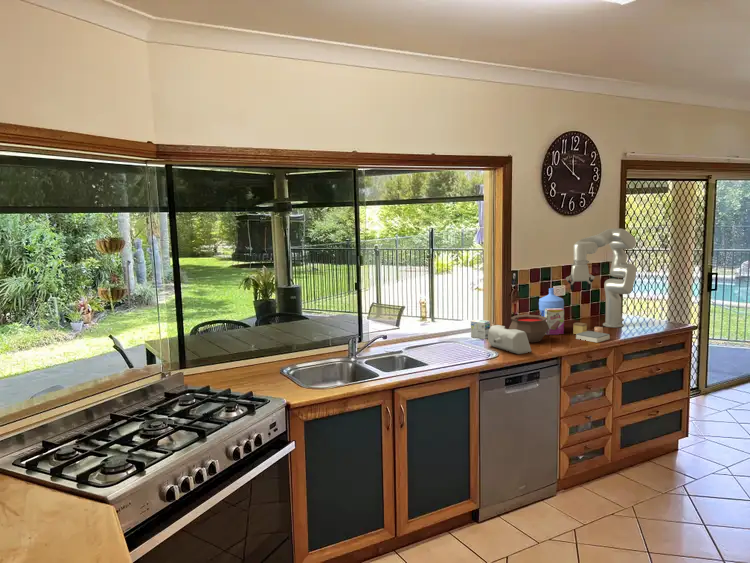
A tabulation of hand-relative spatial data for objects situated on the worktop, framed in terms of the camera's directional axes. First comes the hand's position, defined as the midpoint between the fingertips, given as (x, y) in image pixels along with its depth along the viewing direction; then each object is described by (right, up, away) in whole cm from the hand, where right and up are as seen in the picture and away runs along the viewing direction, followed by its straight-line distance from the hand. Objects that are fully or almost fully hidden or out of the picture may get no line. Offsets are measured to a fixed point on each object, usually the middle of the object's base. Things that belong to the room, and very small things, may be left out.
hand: (580, 290), depth 330 cm
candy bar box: (-14, -28, +7) cm, 32 cm away
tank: (-53, -34, -26) cm, 68 cm away
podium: (+4, -29, -9) cm, 31 cm away
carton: (+1, -28, +3) cm, 28 cm away
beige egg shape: (+11, -28, -1) cm, 30 cm away
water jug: (-12, -27, +17) cm, 34 cm away
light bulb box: (-61, -30, +7) cm, 68 cm away
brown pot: (-33, -31, -5) cm, 45 cm away
